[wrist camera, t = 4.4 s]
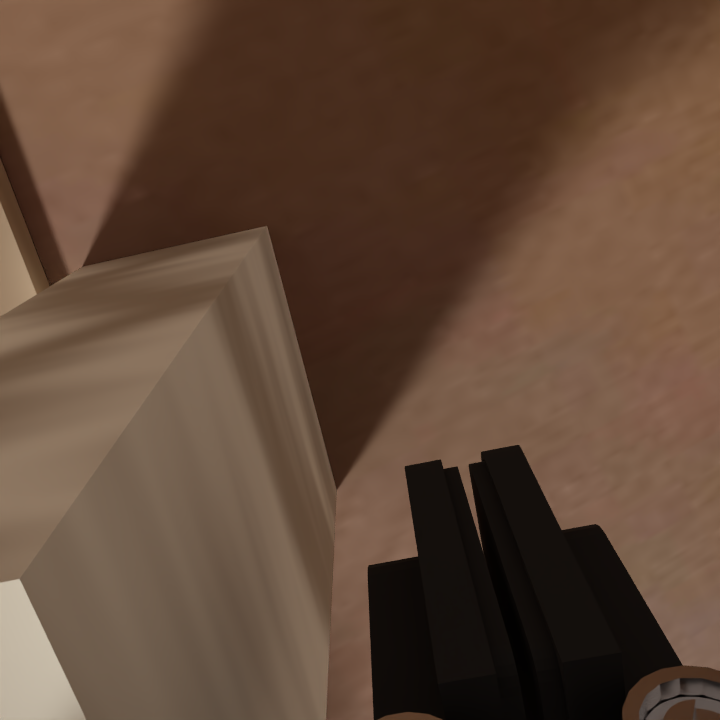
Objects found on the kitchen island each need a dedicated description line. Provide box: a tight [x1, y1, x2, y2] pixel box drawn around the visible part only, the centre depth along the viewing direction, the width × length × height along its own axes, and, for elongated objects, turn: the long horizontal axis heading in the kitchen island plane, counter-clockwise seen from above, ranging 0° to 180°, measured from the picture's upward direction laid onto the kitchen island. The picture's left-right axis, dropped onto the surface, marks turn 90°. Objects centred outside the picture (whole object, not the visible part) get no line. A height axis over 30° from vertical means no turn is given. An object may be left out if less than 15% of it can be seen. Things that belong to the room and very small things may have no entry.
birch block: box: [0, 226, 337, 720], centre depth 13 cm, size 5×8×14 cm, turn 12°
